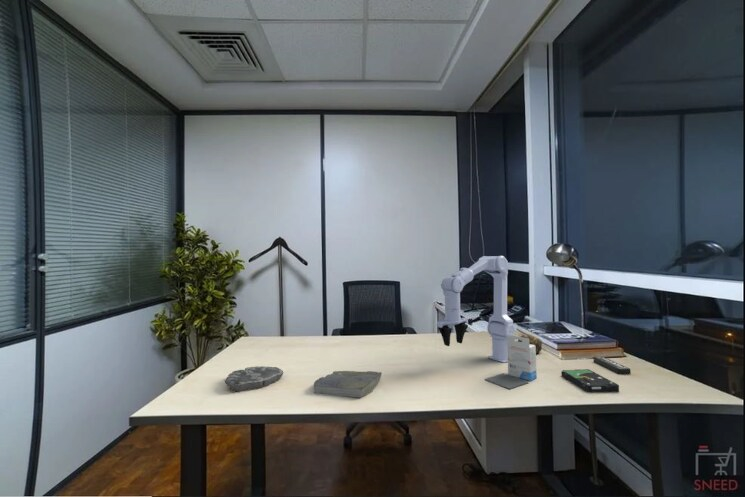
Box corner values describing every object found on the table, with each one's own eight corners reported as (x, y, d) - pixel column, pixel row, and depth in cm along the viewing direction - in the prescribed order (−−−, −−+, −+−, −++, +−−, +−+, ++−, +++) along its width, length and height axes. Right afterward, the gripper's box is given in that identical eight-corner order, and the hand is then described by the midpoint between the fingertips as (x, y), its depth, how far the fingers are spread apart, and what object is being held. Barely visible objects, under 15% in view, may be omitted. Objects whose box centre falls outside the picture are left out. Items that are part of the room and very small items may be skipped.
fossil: (330, 378, 122) (309, 393, 105) (331, 365, 122) (309, 379, 106) (382, 385, 116) (367, 402, 100) (382, 371, 117) (368, 387, 100)
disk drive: (620, 393, 103) (588, 376, 118) (619, 385, 103) (588, 368, 118) (587, 394, 103) (560, 376, 118) (587, 385, 103) (560, 368, 118)
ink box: (537, 378, 116) (536, 336, 116) (530, 381, 113) (529, 338, 113) (514, 371, 122) (513, 332, 123) (507, 374, 119) (506, 334, 120)
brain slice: (267, 370, 129) (267, 362, 129) (289, 381, 117) (289, 373, 117) (214, 384, 115) (215, 375, 115) (233, 398, 103) (234, 389, 103)
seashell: (546, 355, 142) (545, 336, 143) (524, 355, 143) (524, 337, 143) (534, 348, 154) (533, 331, 154) (514, 348, 154) (513, 331, 154)
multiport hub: (618, 375, 118) (618, 368, 119) (593, 362, 133) (592, 356, 133) (631, 375, 118) (631, 368, 118) (604, 362, 133) (603, 356, 133)
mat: (503, 374, 120) (503, 373, 120) (528, 383, 111) (528, 381, 111) (484, 380, 115) (484, 378, 115) (509, 389, 106) (509, 388, 106)
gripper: (458, 305, 131) (458, 339, 131) (431, 308, 124) (431, 344, 123) (471, 307, 125) (472, 343, 125) (444, 311, 118) (445, 348, 117)
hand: (453, 344), depth 124 cm, fingers open, 6 cm apart
